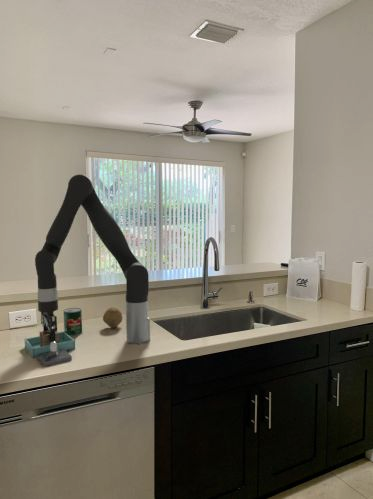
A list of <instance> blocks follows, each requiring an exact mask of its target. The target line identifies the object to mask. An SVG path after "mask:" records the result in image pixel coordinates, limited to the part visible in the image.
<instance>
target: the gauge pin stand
mask: <svg viewBox="0 0 373 499" xmlns="http://www.w3.org/2000/svg"><path fill="white" fill-rule="evenodd" d="M36 359H37V360H38V361H39V363H40V364H41V366H42V367H43V368H45V367H48V365H49V366H52V365H53V364H54V365H57V364H61V363H65V362H70V361H72V360H73V357H72V355H71V353H69V352H68V350H67V351H65V350H64V349H59V350H57V343H56V342H51V344H50V351H49V352H45V353H40V354H37V357H36Z"/></svg>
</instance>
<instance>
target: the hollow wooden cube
mask: <svg viewBox="0 0 373 499" xmlns="http://www.w3.org/2000/svg"><path fill="white" fill-rule="evenodd" d="M39 336H40V347H42V346H47V345H50V344H51V342H50V341H49V330H48V331H43V330H42V331H39ZM55 338H56V340H55V341H52V342H56V343H59V331H58V330H57V331H55Z"/></svg>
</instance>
